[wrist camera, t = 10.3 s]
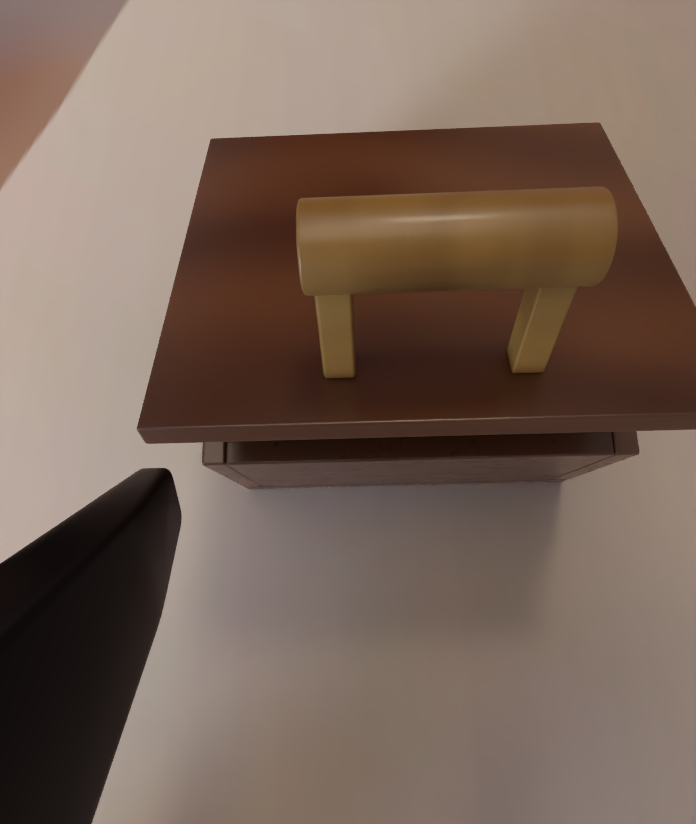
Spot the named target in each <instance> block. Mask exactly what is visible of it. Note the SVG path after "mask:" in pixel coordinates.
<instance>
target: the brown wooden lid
mask: <svg viewBox="0 0 696 824" xmlns="http://www.w3.org/2000/svg"><path fill="white" fill-rule="evenodd" d="M692 429H696V307H695V305H694V303H693V301H692V299H691V297H690V295H689V293H688V291H687V289H686V287H685V286H684V284H683V282H682V280H681V278H680V276H679V274H678V272H677V270H676V268H675V266H674V264H673V262H672V261H671V259H670V257H669V255H668V253H667V251H666V249H665V247H664V245H663V243H662V241H661V239H660V237H659V235H658V234H657V232H656V230H655V228H654V226H653V224H652V222H651V220H650V218H649V216H648V214H647V212H646V210H645V209H644V207H643V205H642V203H641V201H640V199H639V197H638V195H637V193H636V191H635V189H634V187H633V185H632V183H631V182H630V180H629V178H628V176H627V174H626V172H625V170H624V168H623V166H622V164H621V162H620V160H619V158H618V157H617V155H616V153H615V151H614V149H613V147H612V145H611V143H610V141H609V139H608V137H607V135H606V133H605V131H604V130H603V128H602V126H601V124H600V123H576V124H552V125H528V126H504V127H480V128H456V129H432V130H408V131H384V132H360V133H336V134H312V135H289V136H265V137H241V138H217V139H211V140H210V144H209V148H208V152H207V156H206V160H205V163H204V167H203V171H202V175H201V179H200V183H199V187H198V191H197V195H196V199H195V203H194V207H193V211H192V214H191V218H190V222H189V226H188V230H187V234H186V238H185V242H184V246H183V250H182V254H181V258H180V262H179V265H178V269H177V273H176V277H175V281H174V285H173V289H172V293H171V297H170V301H169V305H168V309H167V312H166V316H165V320H164V324H163V328H162V332H161V336H160V340H159V344H158V348H157V352H156V356H155V360H154V363H153V367H152V371H151V375H150V379H149V383H148V387H147V391H146V395H145V399H144V403H143V407H142V411H141V414H140V418H139V422H138V426H137V431H138V432H139V434H140V435H141V437H142V438H143V440H144V442H145V443H147V444H157V443H196V442H234V441H272V440H310V439H348V438H386V437H424V436H463V435H501V434H539V433H577V432H615V431H653V430H692Z"/></svg>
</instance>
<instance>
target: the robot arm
mask: <svg viewBox="0 0 696 824" xmlns="http://www.w3.org/2000/svg"><path fill="white" fill-rule="evenodd" d="M180 527H181V509H180V505H179V501H178V497H177V493H176V489H175V484H174V480H173V477H172V474H171V472H170V471H169V470H168V469H166V468H147V469H140V470H139V471H137V472H135V473H134V474H133V475H131V476H130V477H128V478H127V479H125V480H124V481H122V482H121V483H119V484H118V485H116V486H115V487H113V488H112V489H110V490H109V491H107V492H106V493H104V494H103V495H101V496H100V497H98V498H97V499H95V500H94V501H93V502H91V503H90V504H88V505H87V506H85V507H84V508H82V509H81V510H79V511H78V512H76V513H75V514H73V515H72V516H70V517H69V518H67V519H66V520H64V521H63V522H61V523H60V524H58V525H57V526H56V527H54V528H53V529H51V530H50V531H48V532H47V533H45V534H44V535H42V536H41V537H39V538H38V539H36V540H35V541H33V542H32V543H30V544H29V545H27V546H26V547H24V548H23V549H21V550H20V551H18V552H17V553H15V554H14V555H12V556H11V557H10V558H8V559H7V560H5V561H4V562H2V563H1V564H0V824H92V821H93V818H94V815H95V812H96V809H97V806H98V803H99V800H100V797H101V794H102V791H103V788H104V785H105V782H106V779H107V776H108V773H109V770H110V767H111V764H112V761H113V758H114V755H115V752H116V749H117V747H118V744H119V741H120V738H121V735H122V732H123V729H124V726H125V723H126V720H127V717H128V714H129V711H130V708H131V705H132V702H133V699H134V696H135V693H136V690H137V687H138V684H139V681H140V678H141V675H142V672H143V669H144V667H145V664H146V661H147V658H148V655H149V652H150V649H151V646H152V643H153V640H154V637H155V634H156V631H157V628H158V624H159V621H160V618H161V615H162V610H163V606H164V602H165V598H166V593H167V588H168V583H169V579H170V574H171V569H172V565H173V560H174V555H175V551H176V546H177V541H178V536H179V532H180Z"/></svg>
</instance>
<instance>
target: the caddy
mask: <svg viewBox="0 0 696 824" xmlns="http://www.w3.org/2000/svg"><path fill="white" fill-rule="evenodd" d="M638 454H639V446H638V440H637V433H636V431H615V432H577V433H539V434H501V435H463V436H424V437H386V438H348V439H310V440H272V441H234V442H203V451H202V464H203V465H204V466H206V467H208V468H210V469H212V470H213V471H215V472H217V473H219V474H221V475H223V476H225V477H227V478H229V479H231V480H233V481H235V482H236V483H238V484H240V485H242V486H244V487H246V488H248V489H269V488H311V487H353V486H395V485H437V484H480V483H522V482H562V481H565V480H567V479H570V478H573V477H576V476H579V475H582V474H584V473H587V472H590V471H593V470H596V469H598V468H601V467H604V466H607V465H610V464H613V463H615V462H618V461H621V460H624V459H627V458H629V457H632V456H635V455H638Z"/></svg>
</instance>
